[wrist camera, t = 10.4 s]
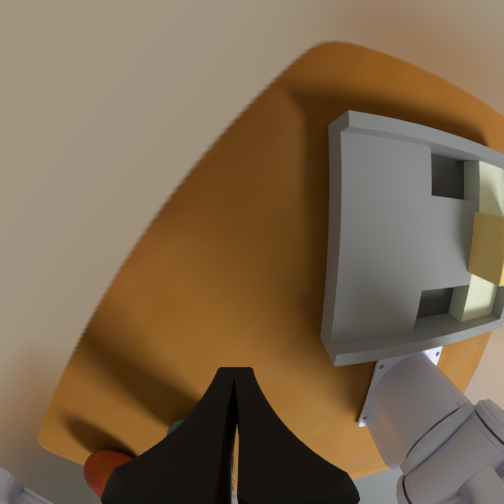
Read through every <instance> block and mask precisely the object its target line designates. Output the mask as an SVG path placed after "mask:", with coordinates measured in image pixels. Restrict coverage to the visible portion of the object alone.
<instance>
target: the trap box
mask: <svg viewBox="0 0 504 504" xmlns="http://www.w3.org/2000/svg"><path fill="white" fill-rule="evenodd" d="M328 138H329V225H328V249H327V266H326V281H325V293H324V304H323V315H322V324H321V333H320V339H321V341H322V343H323V345H324V347H325V349H326V351H327V353H328V355H329V357H330V359H331V361H332V363H333V365H334V367H337V366H344V365H352V364H358V363H365V362H371V361H377V360H383V359H388V358H393V357H398V356H403V355H408V354H412V353H416V352H421V351H425V350H429V349H433V348H437V347H441V346H444V345H448V344H451V343H455V342H458V341H462V340H465V339H468V338H471V337H474V336H477V335H480V334H483V333H486V332H489V331H492V330H494V329H497V328H500V327H502V325H503V321H504V286H497V285H495V284H493V283H491V282H488V281H486V280H484V279H482V278H480V277H478V276H475V275H473V274H471V273H469V272H468V266H469V260H470V253H471V245H472V235H473V224H474V212H479V213H487V214H494V215H500V216H504V154H503V153H501V152H498V151H496V150H494V149H491V148H489V147H486V146H484V145H481V144H479V143H476V142H473V141H471V140H468V139H465V138H462V137H459V136H456V135H453V134H450V133H447V132H444V131H441V130H437V129H434V128H430V127H427V126H423V125H419V124H415V123H411V122H407V121H403V120H399V119H394V118H389V117H385V116H379V115H374V114H369V113H363V112H357V111H350V110H348V111H347V112H345V113H344V114H343V115H341V116H340V117H339V118H337V119H336V120H334V121H333V122H332V123H330V124H329V125H328Z"/></svg>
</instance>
